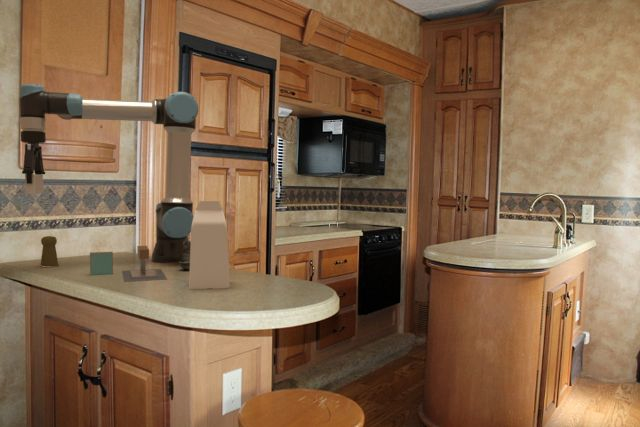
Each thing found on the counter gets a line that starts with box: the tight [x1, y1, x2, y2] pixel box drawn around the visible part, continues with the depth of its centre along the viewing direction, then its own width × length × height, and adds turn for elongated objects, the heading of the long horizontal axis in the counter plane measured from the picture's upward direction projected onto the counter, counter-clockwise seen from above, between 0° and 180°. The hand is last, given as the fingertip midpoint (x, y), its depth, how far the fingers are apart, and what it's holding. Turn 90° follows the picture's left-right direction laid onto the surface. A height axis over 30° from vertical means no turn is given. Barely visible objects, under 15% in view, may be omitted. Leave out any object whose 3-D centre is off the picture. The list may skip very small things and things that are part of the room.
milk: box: [188, 200, 231, 290], centre depth 168 cm, size 12×12×26 cm
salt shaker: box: [178, 237, 191, 271], centre depth 192 cm, size 6×6×12 cm
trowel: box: [130, 245, 158, 279], centre depth 182 cm, size 15×8×9 cm, turn 22°
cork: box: [40, 235, 59, 267], centre depth 201 cm, size 6×6×11 cm
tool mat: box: [121, 268, 169, 283], centre depth 182 cm, size 13×22×1 cm, turn 22°
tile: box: [89, 251, 114, 276], centre depth 182 cm, size 7×2×8 cm, turn 112°
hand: (34, 193), depth 187 cm, fingers open, 13 cm apart
